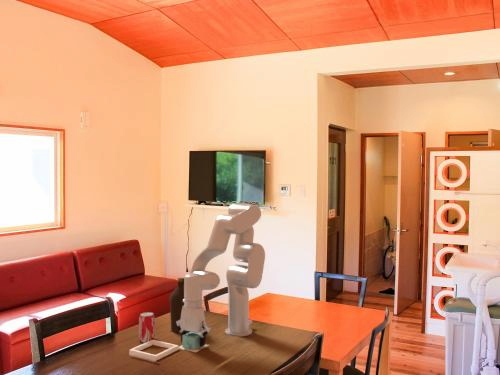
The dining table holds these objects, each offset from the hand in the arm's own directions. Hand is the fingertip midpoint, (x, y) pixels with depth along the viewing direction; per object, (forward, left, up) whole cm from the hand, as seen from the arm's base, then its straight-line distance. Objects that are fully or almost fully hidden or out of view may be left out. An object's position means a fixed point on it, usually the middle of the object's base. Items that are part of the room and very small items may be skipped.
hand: (193, 343), depth 203 cm
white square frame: (+13, -10, -2) cm, 17 cm away
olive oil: (-15, -18, -2) cm, 24 cm away
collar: (0, 0, -1) cm, 1 cm away
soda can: (+3, -23, -2) cm, 23 cm away
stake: (0, 0, -2) cm, 2 cm away
